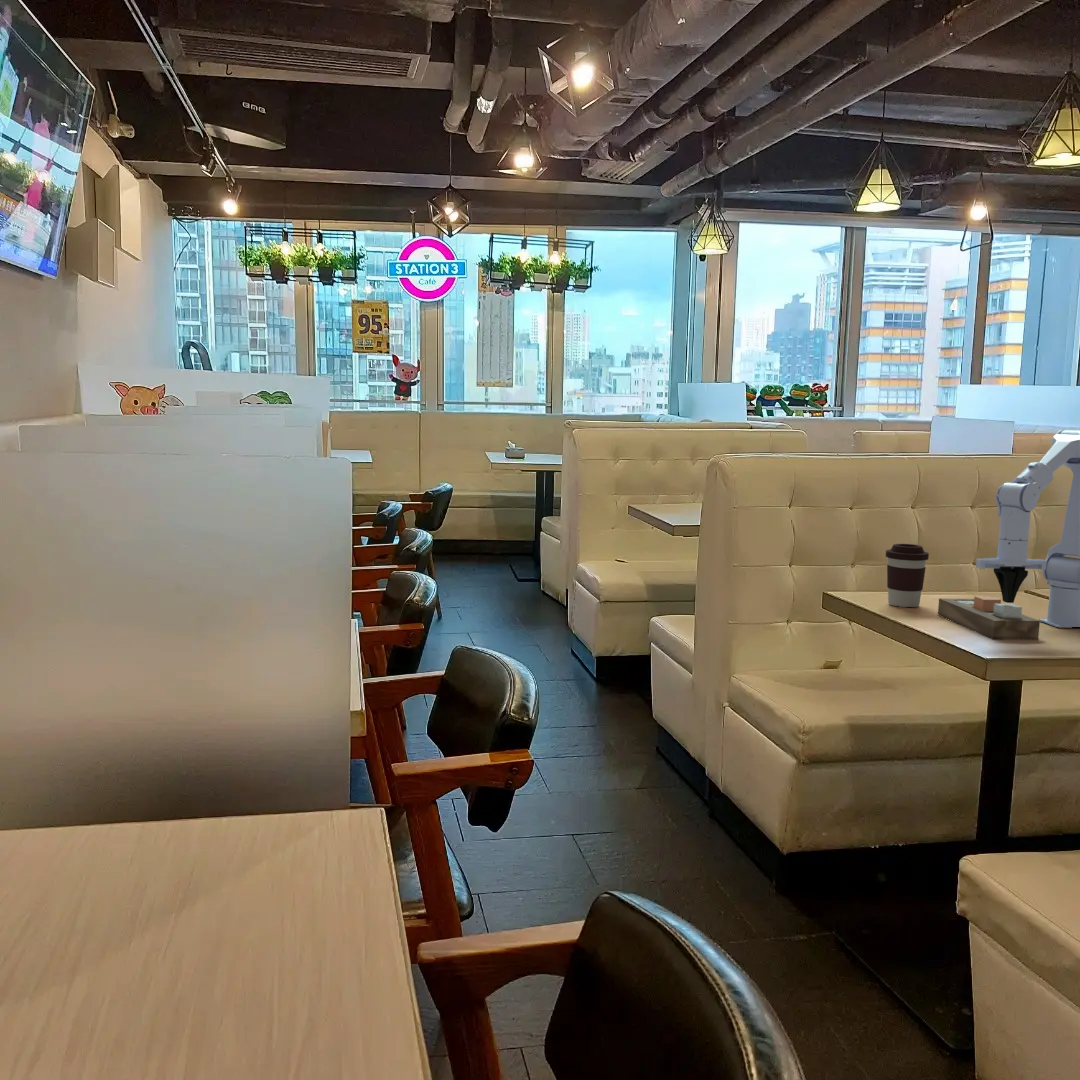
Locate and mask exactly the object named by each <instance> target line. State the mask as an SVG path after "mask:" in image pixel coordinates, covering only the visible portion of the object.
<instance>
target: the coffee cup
mask: <svg viewBox="0 0 1080 1080" xmlns="http://www.w3.org/2000/svg"><path fill="white" fill-rule="evenodd" d="M929 555H930V554H929V552H926V551H924V548H923V546H922V545H920V544H912V543H894V544H893V545H892V547H891V548H890V549H886V551H885V557H886V558H887V565H886V573H887V574H886V576H887V577H886V583H887V584H886V585H887V586H886V587H887V588H888V589H887V590H888V591H887V594H888V595H887V596H888V597H887V599H888V600H887V601H888V604H889V605H890V606H893V607H896V606H899V607H898V608H905V607H914V608H918V607H919V606H920V603H921V597H922V596H921V595H922V591H923V589H924V581H925V574H926V562H927V560H929Z"/></svg>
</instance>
